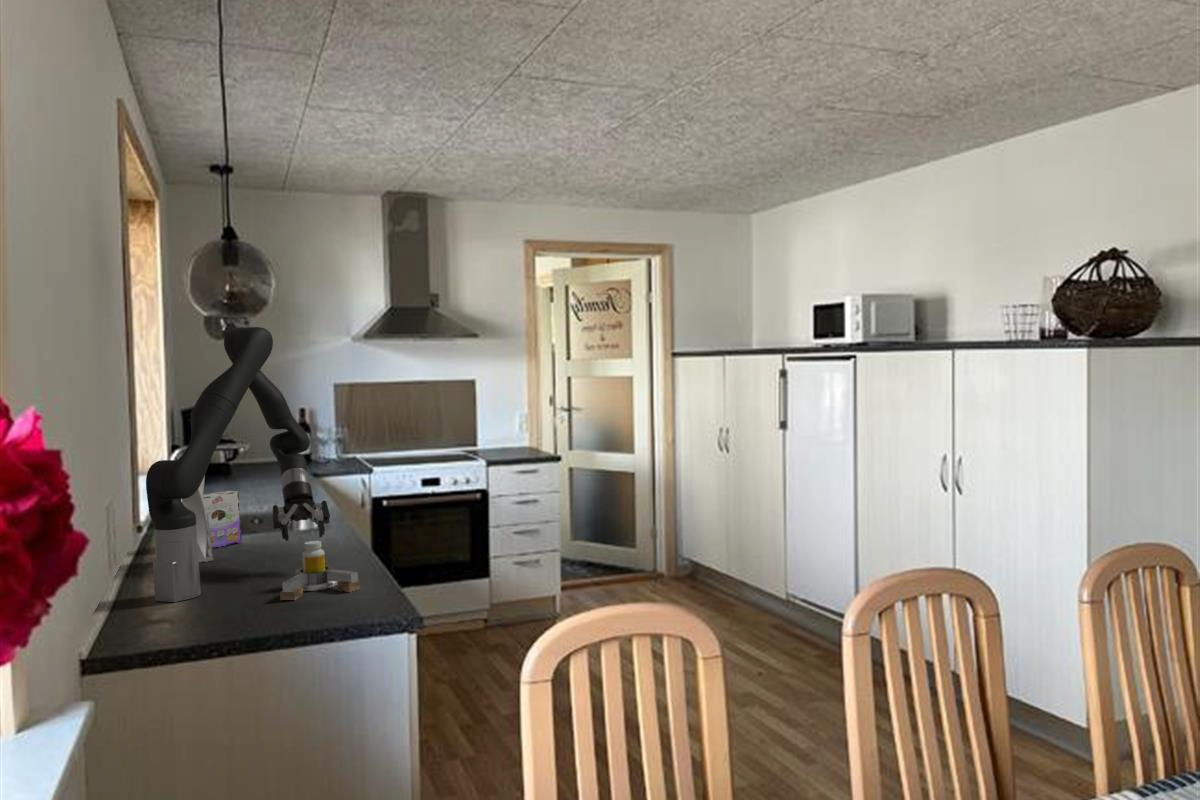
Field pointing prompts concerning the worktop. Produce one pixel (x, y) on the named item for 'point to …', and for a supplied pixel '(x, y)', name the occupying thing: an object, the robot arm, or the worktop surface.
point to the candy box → (223, 517)
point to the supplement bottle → (313, 557)
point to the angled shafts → (331, 575)
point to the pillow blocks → (340, 587)
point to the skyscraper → (200, 524)
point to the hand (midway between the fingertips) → (304, 537)
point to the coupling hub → (317, 580)
